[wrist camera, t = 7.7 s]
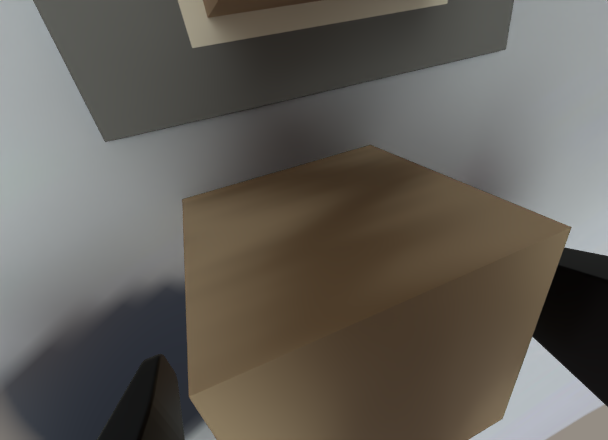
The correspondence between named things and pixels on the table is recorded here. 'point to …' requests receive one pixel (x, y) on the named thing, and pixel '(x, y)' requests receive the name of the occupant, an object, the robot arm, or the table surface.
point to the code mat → (251, 52)
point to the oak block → (360, 301)
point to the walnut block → (244, 5)
